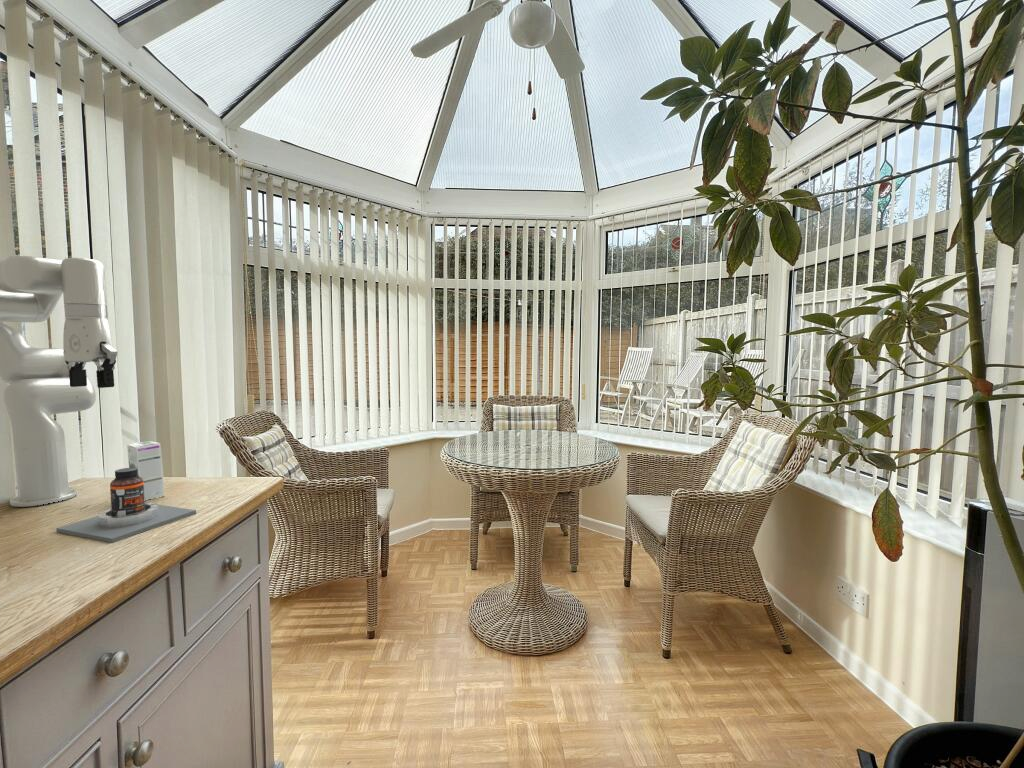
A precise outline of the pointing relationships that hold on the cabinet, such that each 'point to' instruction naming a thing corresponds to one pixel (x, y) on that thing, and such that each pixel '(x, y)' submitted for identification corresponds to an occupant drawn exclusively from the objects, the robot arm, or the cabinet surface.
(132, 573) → the cabinet surface
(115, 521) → the ring collar
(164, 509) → the rubber mat
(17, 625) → the cabinet surface
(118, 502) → the supplement bottle
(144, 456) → the syrup box
